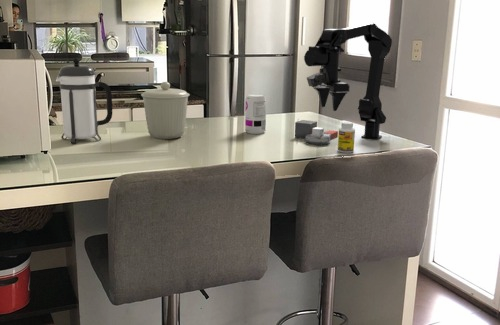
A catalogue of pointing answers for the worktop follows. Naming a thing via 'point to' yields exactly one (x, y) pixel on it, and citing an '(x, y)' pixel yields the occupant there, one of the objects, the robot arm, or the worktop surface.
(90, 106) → the coffee press
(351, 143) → the supplement bottle
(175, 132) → the canister
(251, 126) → the supplement can
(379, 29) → the robot arm
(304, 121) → the brushed grey cube
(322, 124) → the worktop surface
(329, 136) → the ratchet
